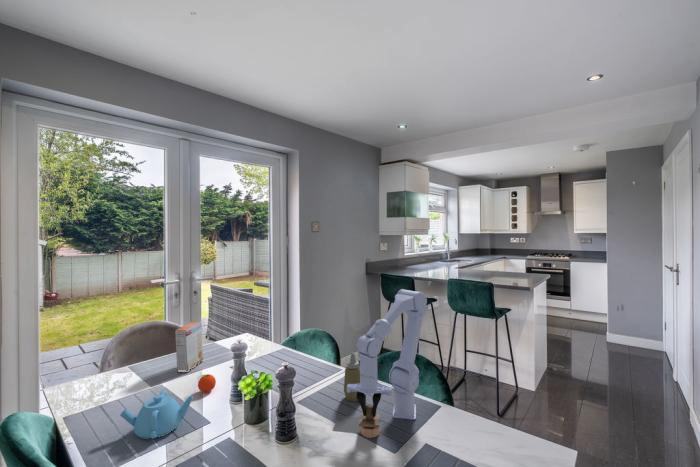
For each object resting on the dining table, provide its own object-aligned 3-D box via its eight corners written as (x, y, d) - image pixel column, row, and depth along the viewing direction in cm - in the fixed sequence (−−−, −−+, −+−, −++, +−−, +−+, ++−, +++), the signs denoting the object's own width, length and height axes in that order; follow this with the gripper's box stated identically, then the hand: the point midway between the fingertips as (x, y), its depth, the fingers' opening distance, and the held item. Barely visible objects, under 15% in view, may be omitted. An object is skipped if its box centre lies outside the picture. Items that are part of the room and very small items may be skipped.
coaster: (338, 416, 118) (338, 415, 117) (363, 418, 116) (363, 417, 116) (332, 431, 109) (332, 430, 109) (358, 434, 107) (358, 433, 107)
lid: (361, 415, 111) (361, 400, 111) (380, 416, 110) (380, 402, 110) (358, 426, 105) (358, 411, 105) (378, 427, 104) (378, 412, 104)
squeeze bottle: (362, 404, 125) (361, 357, 125) (341, 403, 126) (340, 356, 126) (365, 394, 133) (364, 350, 132) (346, 392, 134) (345, 349, 134)
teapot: (159, 412, 124) (158, 382, 123) (195, 420, 118) (194, 389, 118) (118, 436, 109) (117, 403, 109) (157, 447, 103) (155, 412, 103)
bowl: (362, 426, 111) (362, 417, 111) (380, 428, 110) (380, 419, 110) (359, 437, 105) (359, 428, 105) (378, 439, 104) (377, 430, 104)
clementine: (192, 394, 136) (191, 377, 136) (203, 386, 143) (202, 370, 143) (209, 396, 134) (208, 379, 134) (219, 388, 141) (219, 371, 141)
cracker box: (192, 361, 172) (191, 321, 171) (203, 361, 171) (202, 321, 171) (175, 373, 158) (174, 329, 157) (187, 373, 157) (186, 329, 157)
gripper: (344, 377, 105) (345, 419, 105) (389, 380, 102) (390, 424, 102) (349, 368, 112) (350, 407, 112) (391, 371, 109) (392, 411, 109)
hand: (369, 414), depth 107 cm, fingers closed on lid, 3 cm apart
